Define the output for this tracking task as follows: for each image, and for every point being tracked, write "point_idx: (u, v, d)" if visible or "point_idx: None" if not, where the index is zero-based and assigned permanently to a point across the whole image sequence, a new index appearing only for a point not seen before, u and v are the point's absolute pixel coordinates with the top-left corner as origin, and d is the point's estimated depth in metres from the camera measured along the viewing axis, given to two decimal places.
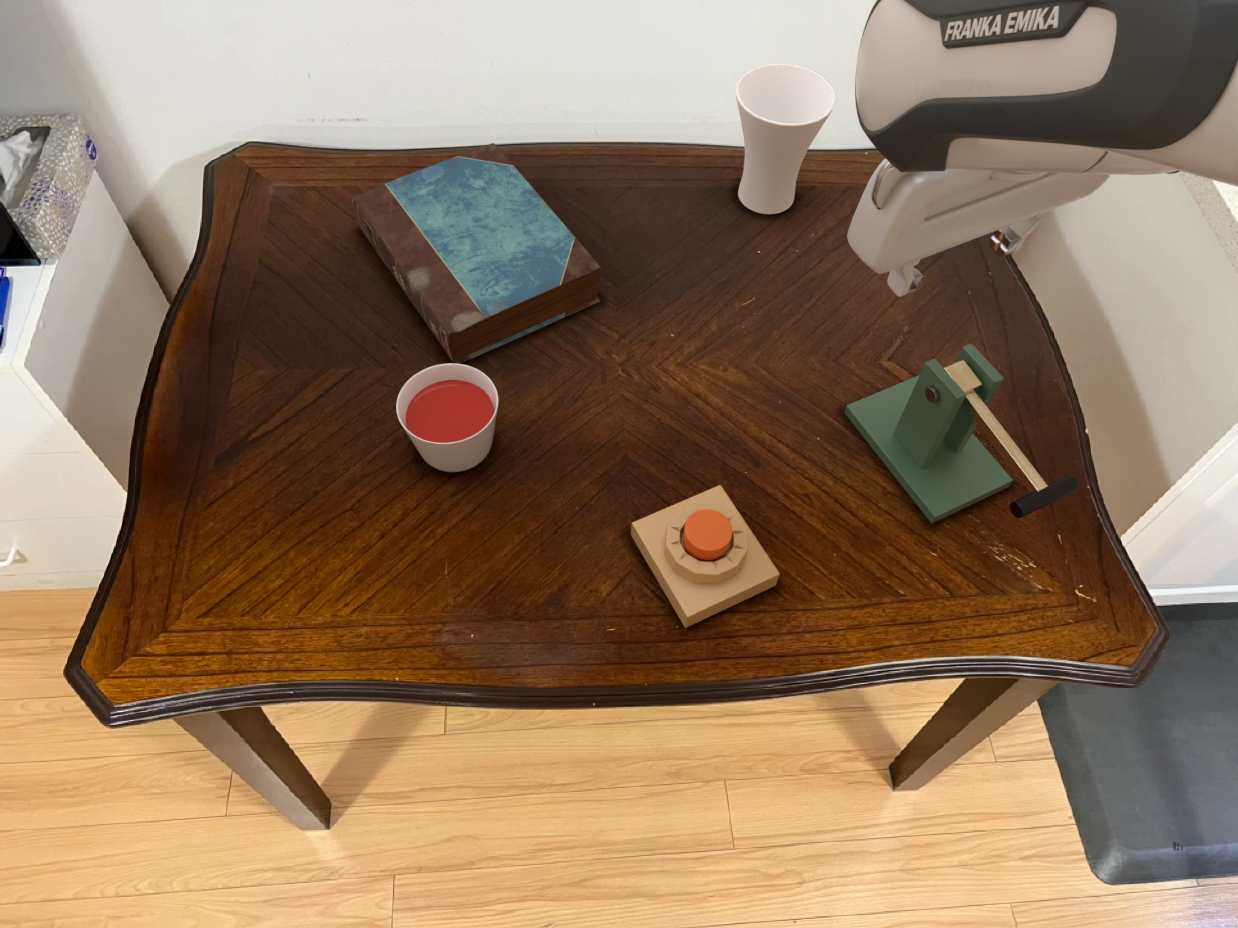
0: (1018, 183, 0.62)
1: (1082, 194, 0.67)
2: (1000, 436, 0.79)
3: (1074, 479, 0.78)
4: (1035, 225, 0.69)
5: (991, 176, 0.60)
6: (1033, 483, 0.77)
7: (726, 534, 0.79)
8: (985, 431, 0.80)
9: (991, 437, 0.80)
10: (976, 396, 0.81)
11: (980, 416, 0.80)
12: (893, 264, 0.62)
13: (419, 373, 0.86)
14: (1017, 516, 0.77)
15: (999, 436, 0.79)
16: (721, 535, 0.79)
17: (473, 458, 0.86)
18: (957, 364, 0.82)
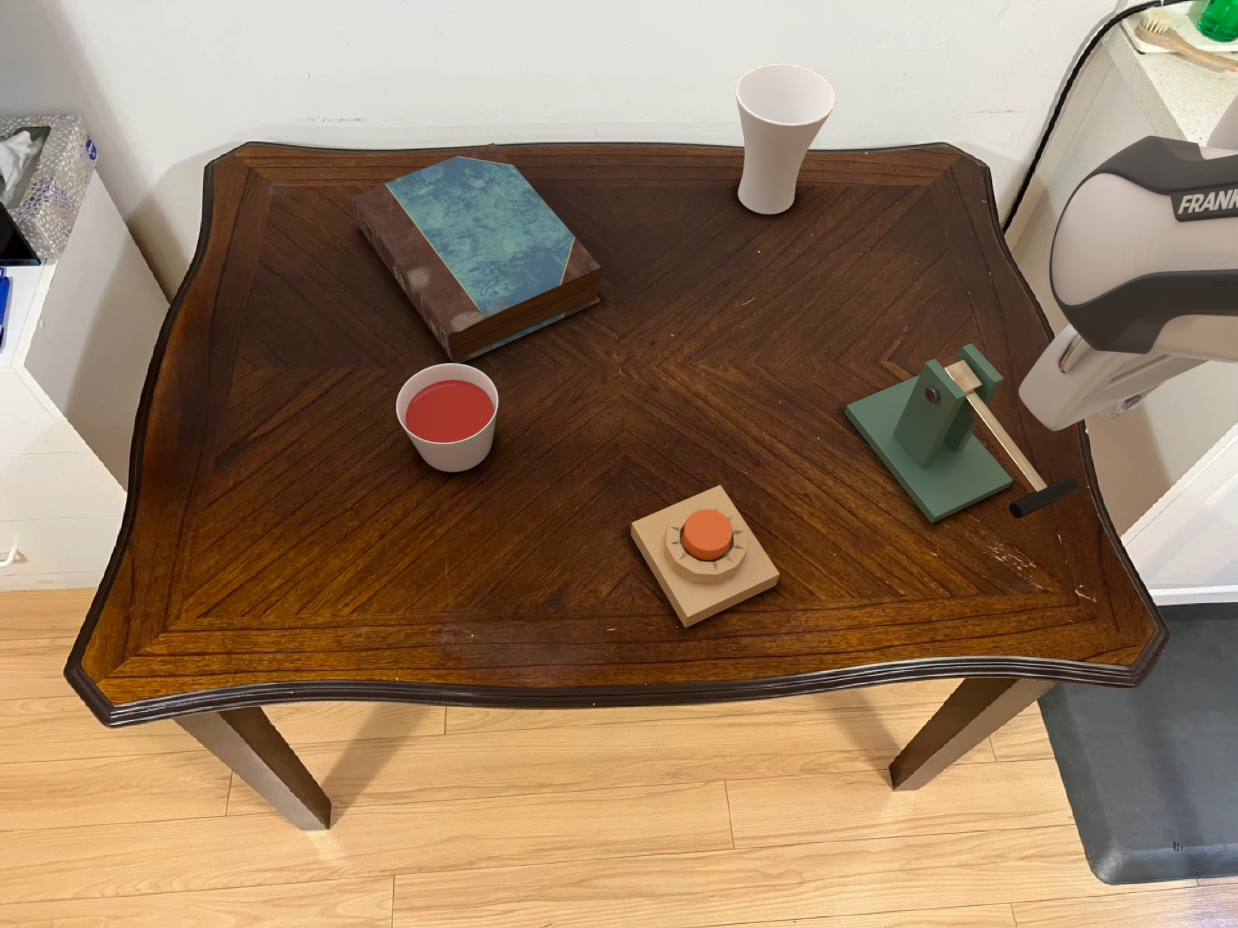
0: None
1: None
2: (1000, 436, 0.79)
3: (1073, 479, 0.78)
4: (1158, 385, 0.65)
5: None
6: (1033, 484, 0.78)
7: (726, 534, 0.79)
8: (985, 431, 0.80)
9: (991, 437, 0.80)
10: (976, 396, 0.81)
11: (980, 416, 0.80)
12: (1069, 423, 0.60)
13: (419, 373, 0.86)
14: (1016, 517, 0.77)
15: (999, 436, 0.79)
16: (721, 535, 0.79)
17: (473, 458, 0.86)
18: (957, 364, 0.82)
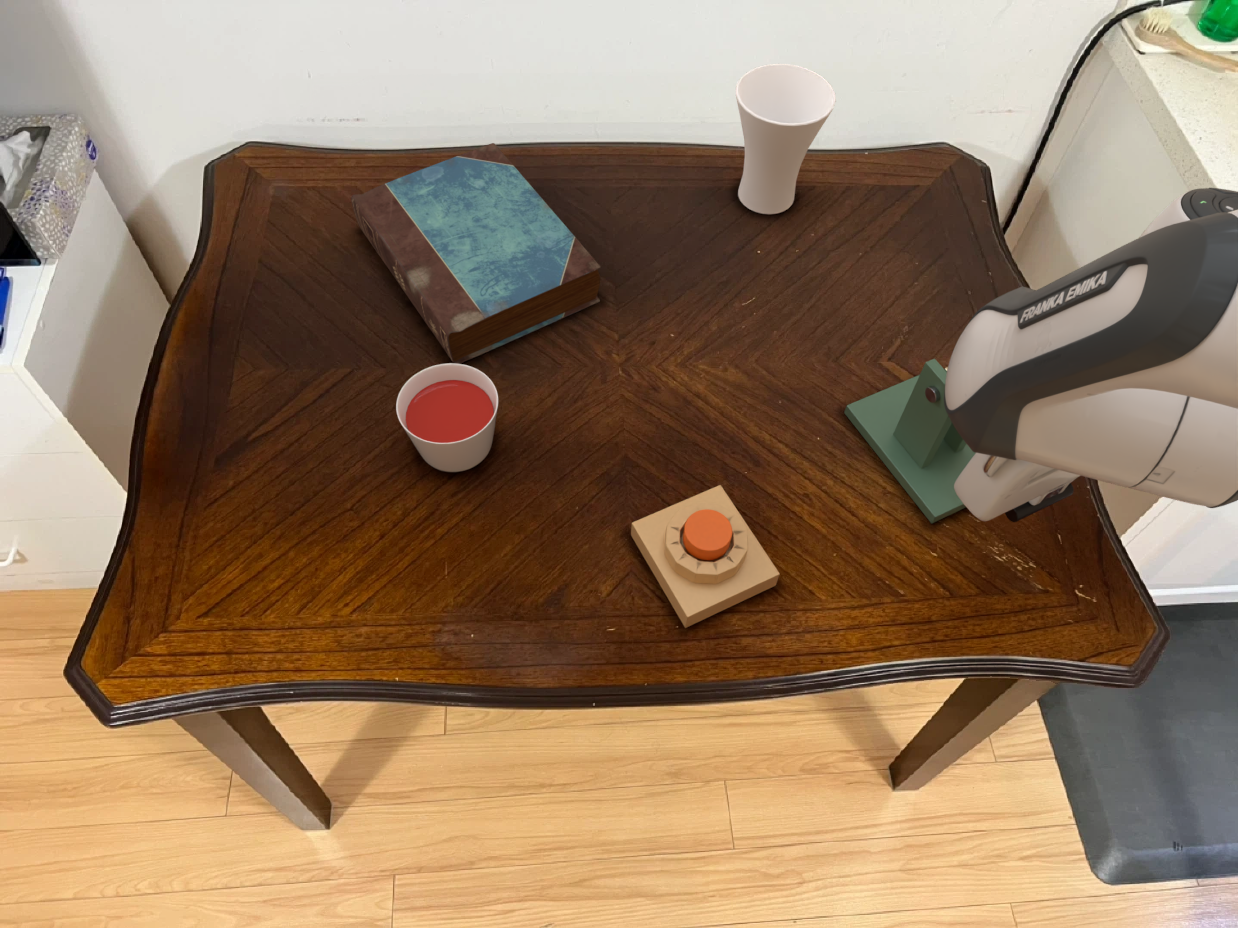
0: None
1: None
2: None
3: (1069, 484, 0.78)
4: None
5: None
6: None
7: (726, 534, 0.79)
8: None
9: None
10: None
11: None
12: (996, 515, 0.70)
13: (419, 373, 0.86)
14: (1011, 520, 0.78)
15: None
16: (721, 535, 0.79)
17: (473, 458, 0.86)
18: None
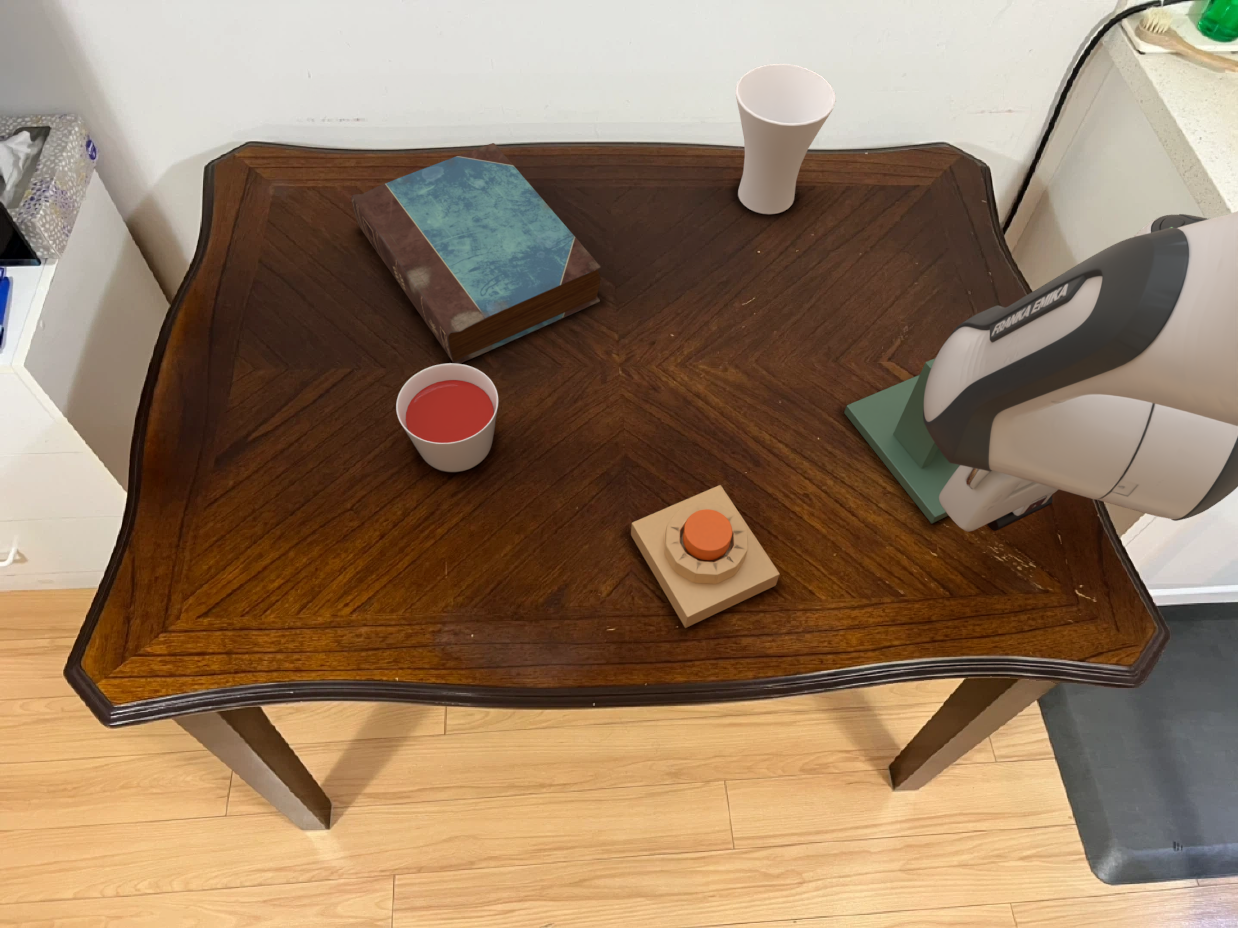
0: None
1: None
2: None
3: None
4: None
5: None
6: None
7: (726, 534, 0.79)
8: None
9: None
10: None
11: None
12: (980, 525, 0.72)
13: (419, 373, 0.86)
14: (991, 528, 0.81)
15: None
16: (721, 535, 0.79)
17: (473, 458, 0.86)
18: None
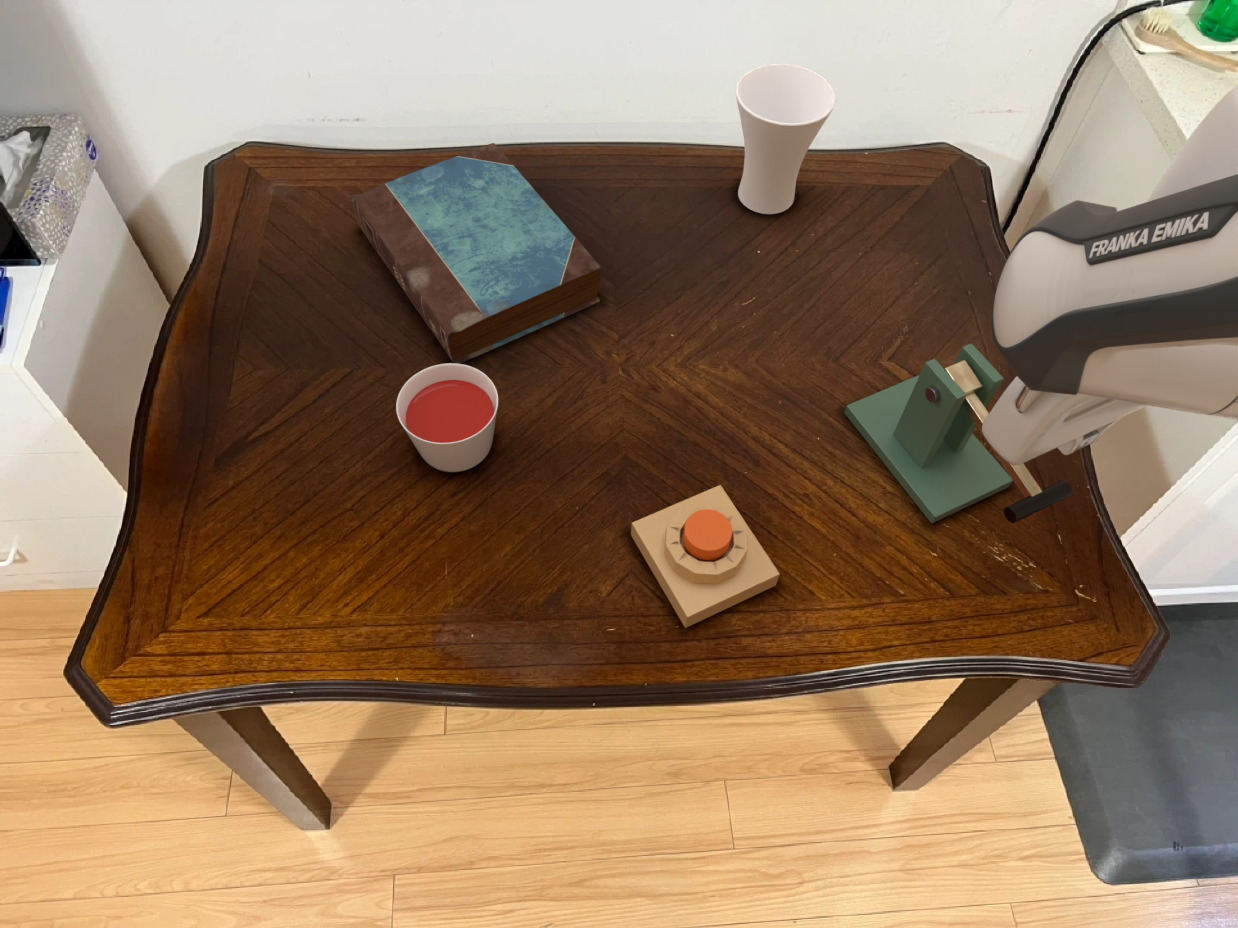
0: None
1: None
2: None
3: (1068, 485, 0.79)
4: (1114, 422, 0.70)
5: None
6: (1028, 488, 0.78)
7: (726, 534, 0.79)
8: None
9: None
10: (975, 397, 0.81)
11: (979, 418, 0.81)
12: (1028, 458, 0.65)
13: (419, 373, 0.86)
14: (1010, 521, 0.78)
15: None
16: (721, 535, 0.79)
17: (473, 458, 0.86)
18: (958, 364, 0.82)
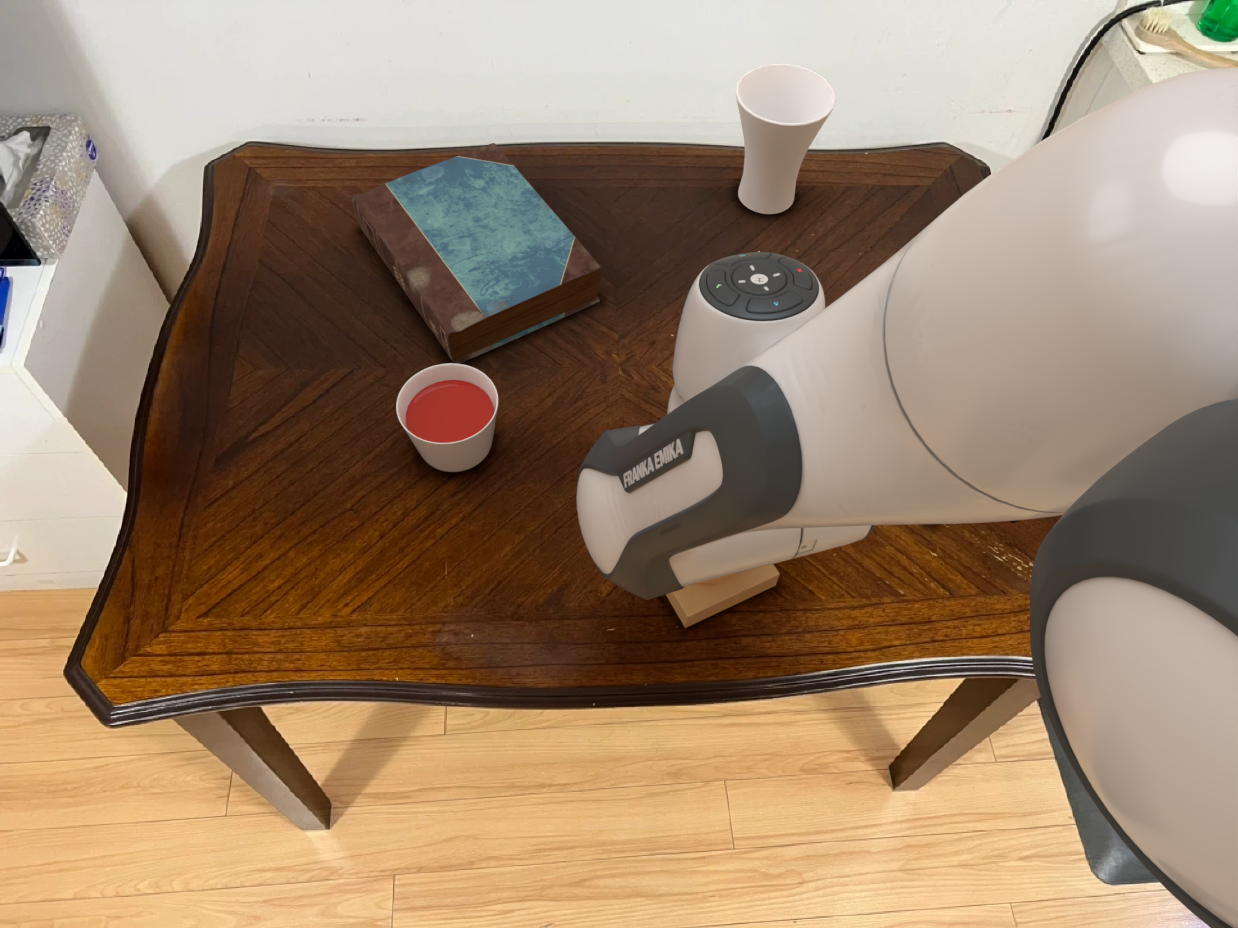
0: None
1: None
2: None
3: None
4: None
5: None
6: None
7: None
8: None
9: None
10: None
11: None
12: None
13: (419, 373, 0.86)
14: (1010, 521, 0.78)
15: None
16: None
17: (473, 458, 0.86)
18: None
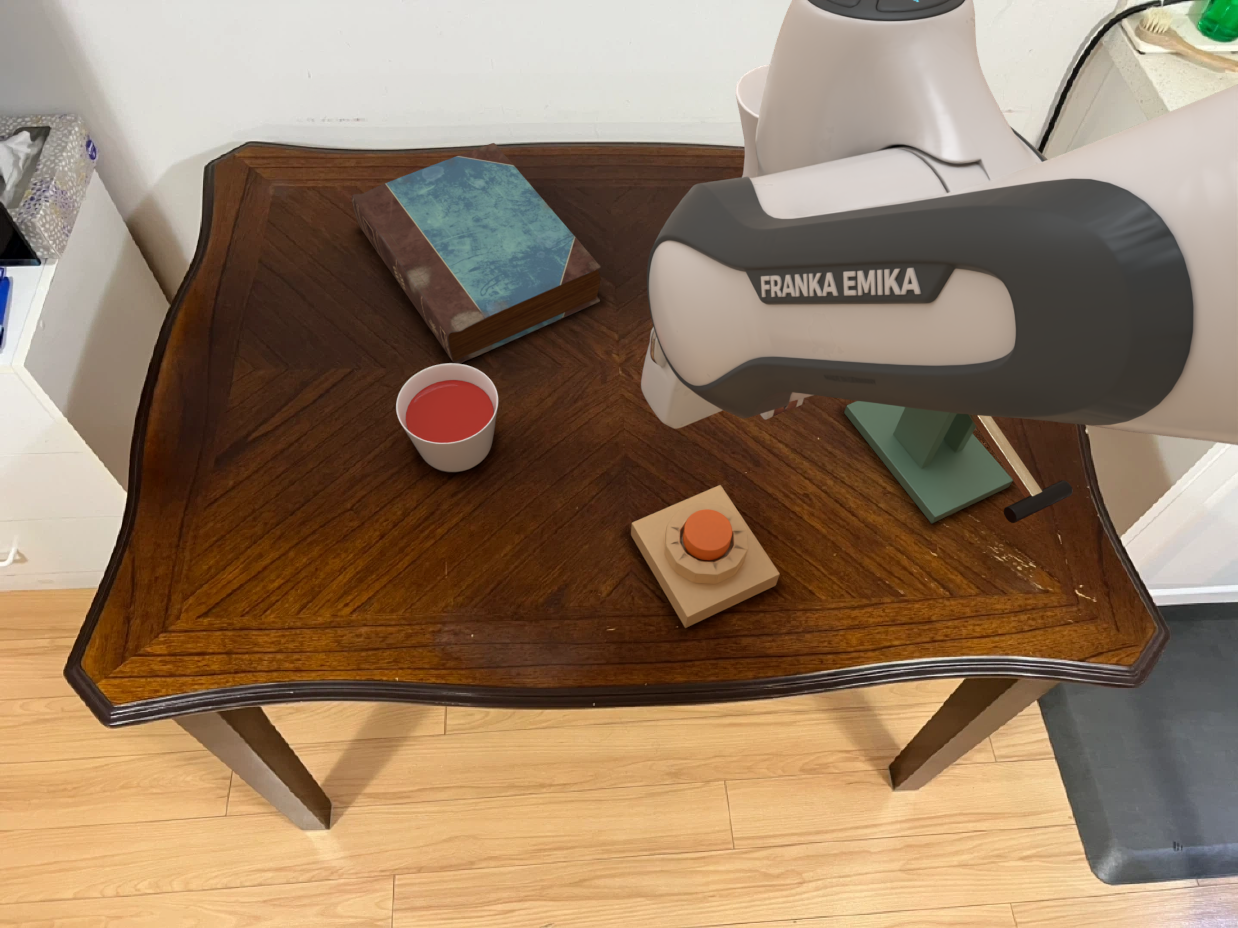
0: None
1: None
2: (998, 439, 0.80)
3: (1068, 485, 0.79)
4: None
5: None
6: (1028, 488, 0.78)
7: (726, 534, 0.79)
8: (983, 433, 0.81)
9: (989, 439, 0.80)
10: None
11: (979, 418, 0.81)
12: (688, 420, 0.57)
13: (419, 373, 0.86)
14: (1010, 521, 0.78)
15: (997, 439, 0.80)
16: (721, 535, 0.79)
17: (473, 458, 0.86)
18: None
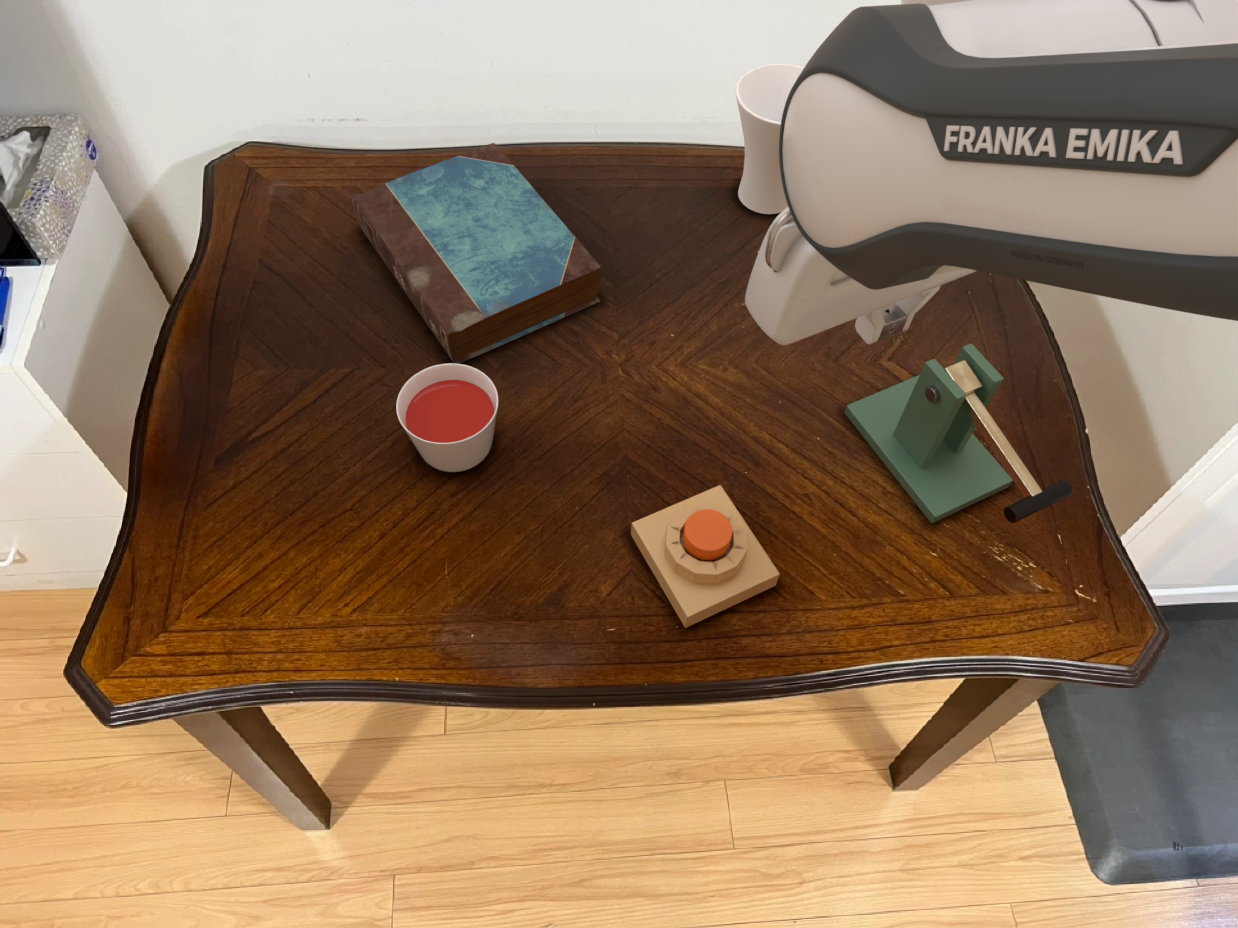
0: None
1: None
2: (998, 439, 0.80)
3: (1068, 485, 0.79)
4: (924, 301, 0.58)
5: None
6: (1028, 488, 0.78)
7: (726, 534, 0.79)
8: (983, 433, 0.81)
9: (989, 439, 0.80)
10: (975, 397, 0.81)
11: (979, 418, 0.81)
12: (798, 335, 0.52)
13: (419, 373, 0.86)
14: (1010, 521, 0.78)
15: (997, 439, 0.80)
16: (721, 535, 0.79)
17: (473, 458, 0.86)
18: (958, 364, 0.82)
